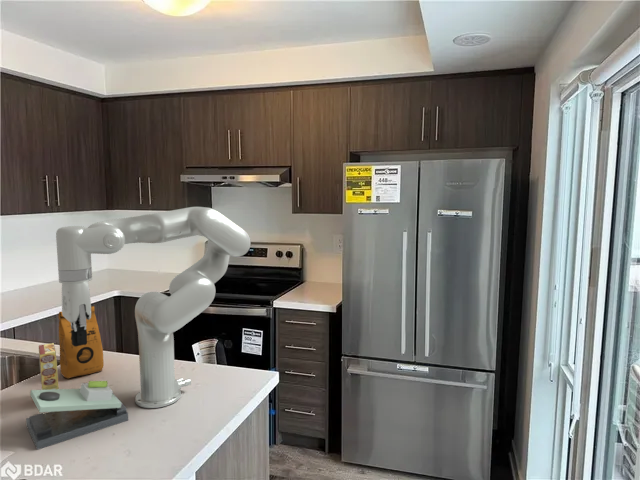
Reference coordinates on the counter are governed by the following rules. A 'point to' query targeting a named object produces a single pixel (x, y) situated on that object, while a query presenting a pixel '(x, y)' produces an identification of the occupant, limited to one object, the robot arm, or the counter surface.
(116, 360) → the counter surface
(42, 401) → the levelling plate
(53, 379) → the candy box
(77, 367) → the coffee package
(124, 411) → the base
